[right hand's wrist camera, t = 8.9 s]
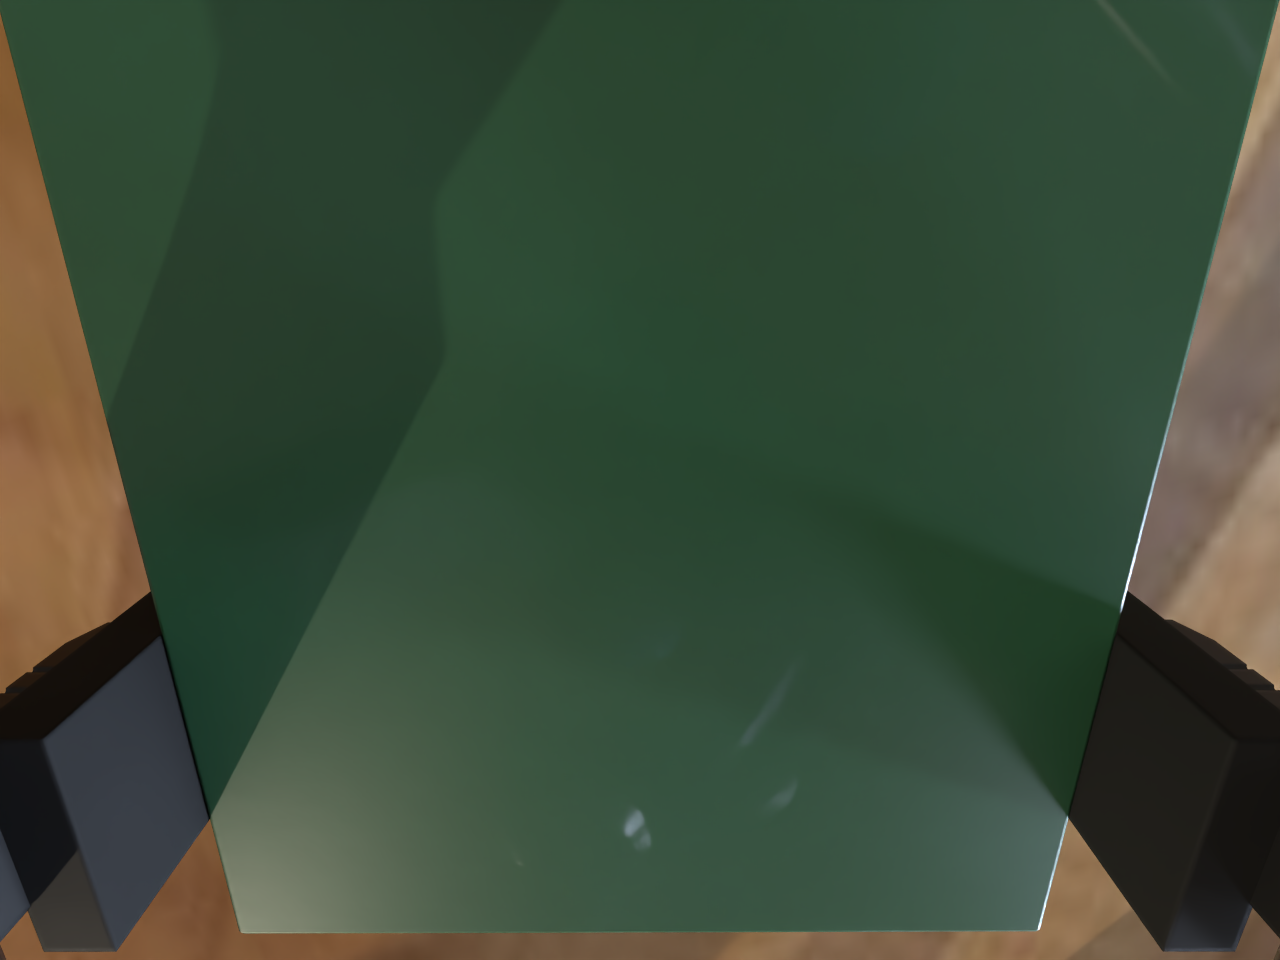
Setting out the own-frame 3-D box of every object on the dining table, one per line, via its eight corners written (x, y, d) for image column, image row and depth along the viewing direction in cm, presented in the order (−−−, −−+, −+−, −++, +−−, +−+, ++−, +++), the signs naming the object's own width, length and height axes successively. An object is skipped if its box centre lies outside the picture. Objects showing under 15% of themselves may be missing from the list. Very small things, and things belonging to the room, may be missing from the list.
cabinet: (375, -183, 15) (-336, -1253, 4) (900, -183, 15) (1606, -1246, 4) (449, 553, 21) (237, 935, 10) (828, 553, 21) (1041, 933, 10)
